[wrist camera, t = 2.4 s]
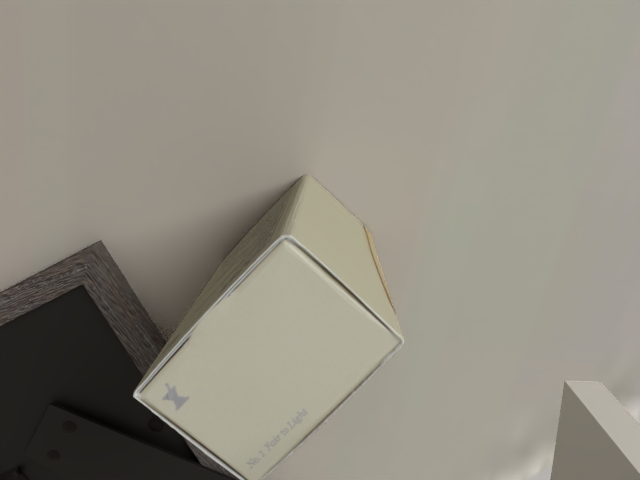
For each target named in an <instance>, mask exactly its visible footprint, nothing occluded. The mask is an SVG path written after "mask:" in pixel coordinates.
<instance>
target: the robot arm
mask: <svg viewBox="0 0 640 480" xmlns="http://www.w3.org/2000/svg"><path fill="white" fill-rule="evenodd" d="M551 480H640V424H639V423H638V422H637V421H636V420H635V419H634V417H633V416H632V415H631V414H630V413H629V412H628V411H627V410H626V409H625V408H624V407H623V406H622V405H621V403H620V402H619V401H618V400H617V399H616V398H615V397H614V396H613V395H612V394H611V393H610V392H609V391H608V389H607V388H606V387H605V386H604V385H603V384H602V383H601V382H599V381H565V382H564V389H563V396H562V403H561V410H560V417H559V424H558V431H557V438H556V445H555V452H554V459H553V466H552V473H551Z"/></svg>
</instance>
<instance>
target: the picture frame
mask: <svg viewBox="0 0 640 480" xmlns="http://www.w3.org/2000/svg"><path fill="white" fill-rule="evenodd" d="M165 345H166V342H165V340H164V339H163V337H162V336H161V334H160V332H159V331H158V329H157V328H156V326H155V324H154V323H153V321H152V320H151V318H150V317H149V315H148V313H147V312H146V310H145V309H144V307H143V306H142V304H141V302H140V301H139V299H138V298H137V296H136V294H135V293H134V291H133V290H132V288H131V287H130V285H129V283H128V282H127V280H126V279H125V277H124V276H123V274H122V272H121V271H120V269H119V268H118V266H117V264H116V263H115V261H114V260H113V258H112V257H111V255H110V253H109V252H108V250H107V249H106V247H105V246H104V244H103V242H102V241H99V242H97V243H95V244H93V245H91V246H89V247H87V248H85V249H83V250H81V251H79V252H77V253H76V254H74V255H72V256H70V257H68V258H66V259H64V260H62V261H60V262H58V263H56V264H54V265H52V266H50V267H49V268H47V269H45V270H43V271H41V272H39V273H37V274H35V275H33V276H31V277H29V278H27V279H25V280H24V281H22V282H20V283H18V284H16V285H14V286H12V287H10V288H8V289H6V290H4V291H2V292H0V480H240V479H239V478H237V477H236V476H234V475H233V474H232V473H230V472H229V471H228V470H226V469H225V468H224V467H222V466H221V465H220V464H218V463H217V462H215V461H214V460H213V459H211V458H210V457H209V456H207V455H206V454H205V453H204V452H203V451H201V450H200V449H199V448H198V447H196V446H195V445H194V444H192V443H191V442H190V441H188V440H187V439H186V438H185V437H183V436H182V435H181V434H179V433H178V432H177V431H176V430H175V429H173V428H172V427H170V426H169V425H168V424H167V423H166V422H164V421H163V420H162V419H161V418H159V417H158V416H157V415H155V414H154V413H153V412H152V411H151V410H149V409H148V408H147V407H146V406H145V405H143V404H142V403H141V402H139V401H138V400H137V399H135V398H134V397H133V393H134V390H135V389H136V387H137V386H138V385H139V383H140V382H141V380H142V379H143V377H144V376H145V374H146V373H147V371H148V370H149V368H150V367H151V365H152V364H153V362H154V361H155V360H156V358H157V357H158V355H159V354H160V352H161V351H162V349H163V348H164V346H165Z"/></svg>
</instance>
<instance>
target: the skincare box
mask: <svg viewBox="0 0 640 480" xmlns="http://www.w3.org/2000/svg"><path fill="white" fill-rule="evenodd" d="M403 344H404V338H403V335H402V331H401V328H400V325H399V322H398V319H397V316H396V313H395V310H394V307H393V303H392V300H391V297H390V293H389V290H388V287H387V284H386V281H385V278H384V275H383V271H382V268H381V265H380V262H379V259H378V255H377V252H376V249H375V246H374V242H373V239H372V235H371V233H370V232H369V231H368V230H367V229H366V228H365V227H364V226H363V225H362V224H361V223H360V222H359V221H358V220H357V219H356V218H355V217H354V216H353V215H352V214H351V213H350V212H349V211H348V210H347V209H346V208H345V207H344V206H343V205H342V204H340V203H339V202H338V201H337V200H336V199H335V198H334V197H333V196H332V195H331V194H330V193H329V192H328V191H327V190H326V189H324V188H323V187H322V186H321V185H320V184H319V183H318V182H317V181H316V180H314V179H313V178H312V177H311V176H310V175H308V174H306V175H303V176H302V177H301V178H300V179H299V180H298V181H297V182H296V183H295V184H294V185H293V186H292V187H291V188H290V189H289V190H288V191H287V192H286V193H285V194H284V195H283V196H282V197H281V198H280V199H279V200H278V202H277V203H276V204H275V205H274V206H273V207H272V208H271V209H270V210H269V211H268V212H267V213H266V214H265V215H264V216H263V217H262V218H261V219H260V221H259V222H258V223H257V224H256V225H255V226H254V227H253V228H252V229H251V230H250V231H249V232H248V233H247V235H246V236H245V237H244V238H243V239H242V240H241V241H240V242H239V243H238V244H237V246H236V247H235V248H234V249H233V250H232V251H231V252H230V253H229V255H228V256H227V257H226V258H225V259H224V260H223V261H222V263H221V264H220V266H219V267H218V269H217V270H216V272H215V273H214V275H213V276H212V277H211V279H210V280H209V282H208V283H207V285H206V286H205V288H204V289H203V290H202V292H201V293H200V295H199V296H198V298H197V299H196V301H195V302H194V304H193V305H192V307H191V308H190V310H189V311H188V313H187V314H186V316H185V317H184V318H183V320H182V321H181V323H180V324H179V326H178V327H177V329H176V330H175V332H174V333H173V335H172V336H171V338H170V339H169V340H168V342H167V343H166V345H165V346H164V348H163V349H162V351H161V352H160V354H159V355H158V357H157V358H156V360H155V361H154V362H153V364H152V365H151V367H150V368H149V370H148V371H147V373H146V374H145V376H144V377H143V379H142V380H141V382H140V383H139V385H138V386H137V387H136V389H135V390H134V393H133V397H134V398H135V399H137V400H138V401H139V402H141V403H142V404H143V405H145V406H146V407H147V408H148V409H149V410H151V411H152V412H153V413H154V414H155V415H157V416H158V417H159V418H161V419H162V420H163V421H164V422H166V423H167V424H168V425H169V426H170V427H172V428H173V429H175V430H176V431H177V432H178V433H179V434H181V435H182V436H183V437H185V438H186V439H187V440H188V441H190V442H191V443H192V444H194V445H195V446H196V447H198V448H199V449H200V450H201V451H203V452H204V453H205V454H206V455H207V456H209V457H210V458H211V459H213V460H214V461H215V462H217V463H218V464H220V465H221V466H222V467H224V468H225V469H226V470H228V471H229V472H230V473H232V474H233V475H234V476H236V477H237V478H239V479H240V480H263V479H264V478H265V477H266V476H267V475H269V474H270V473H271V472H272V471H273V470H274V469H275V468H276V467H278V466H279V465H280V464H281V463H282V462H284V461H285V460H286V459H287V458H288V457H289V456H290V455H291V454H292V453H293V452H294V451H295V450H297V449H298V448H299V447H300V446H301V445H302V444H303V443H304V442H305V441H306V440H307V439H308V438H309V437H310V436H311V435H312V434H314V433H315V432H316V431H317V430H318V429H319V428H320V427H321V426H322V425H323V424H324V423H325V422H326V421H327V420H328V419H329V418H330V417H331V416H332V415H333V414H334V413H335V412H336V411H338V410H339V409H340V408H341V407H342V406H343V405H344V404H345V403H346V402H347V401H348V400H349V399H350V398H351V397H352V396H353V395H354V394H355V393H356V392H357V391H358V390H359V389H360V388H361V387H362V386H363V385H364V384H365V383H366V382H367V381H368V380H369V379H370V378H371V377H372V376H373V375H374V374H375V373H376V372H377V371H378V370H379V369H380V368H381V367H382V366H383V365H384V364H385V363H387V362H388V360H389V359H390V358H391V357H392V356H393V355H394V354H395V353H396V352H397V351H398V350H399V349H400V348H401V347H402V346H403Z"/></svg>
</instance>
